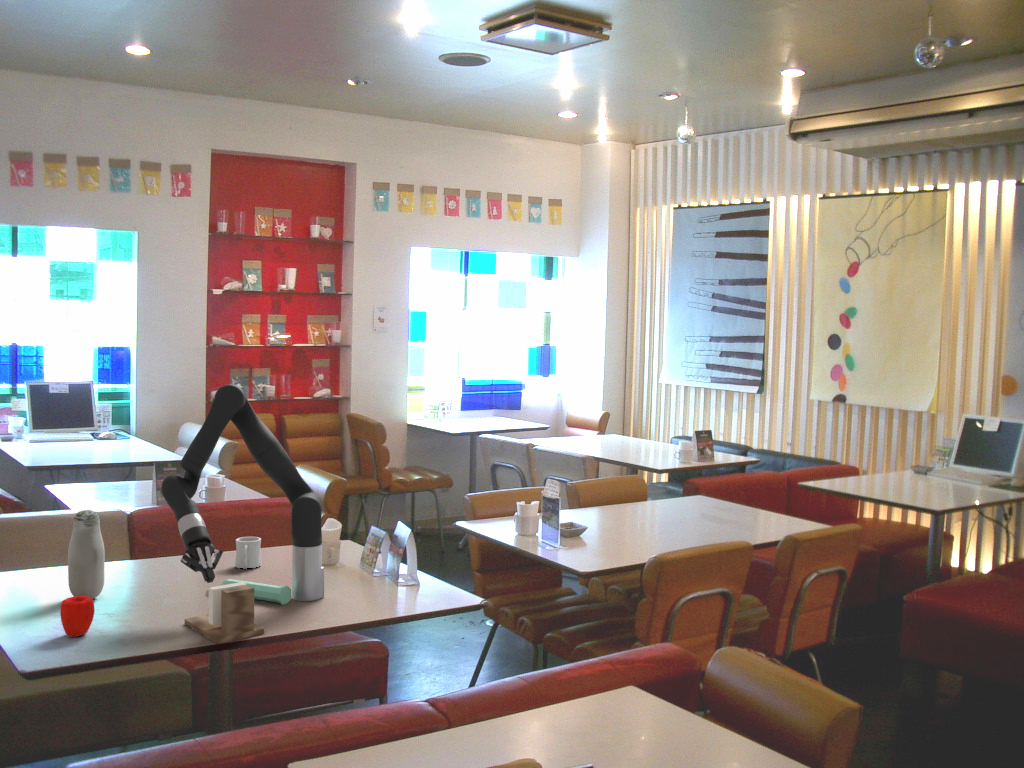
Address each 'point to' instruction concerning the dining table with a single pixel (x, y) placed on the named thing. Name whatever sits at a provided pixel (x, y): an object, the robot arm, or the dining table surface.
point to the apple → (77, 614)
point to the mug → (248, 552)
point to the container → (266, 591)
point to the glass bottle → (86, 556)
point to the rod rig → (230, 617)
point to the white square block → (218, 601)
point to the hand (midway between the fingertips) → (210, 581)
